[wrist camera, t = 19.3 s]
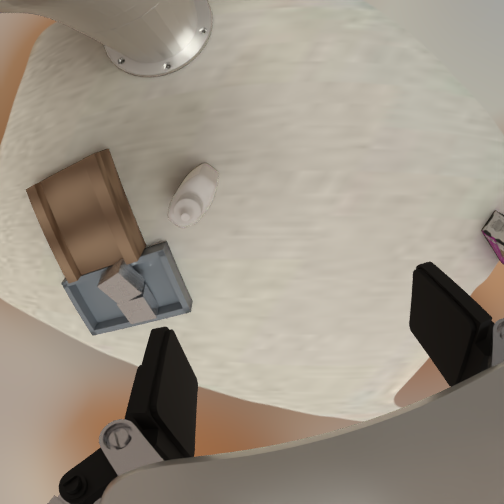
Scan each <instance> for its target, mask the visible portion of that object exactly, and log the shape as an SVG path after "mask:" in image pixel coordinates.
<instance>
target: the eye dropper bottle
mask: <svg viewBox="0 0 504 504" xmlns="http://www.w3.org/2000/svg"><path fill="white" fill-rule="evenodd" d="M218 177H219V173H218V172H217V170H215V169H214V168H213V167H211V166H210V165H209V164H207V163H203V164H201V165H199V166H198V167H196V168H195V169H193V170H192V171H191V172H190V173H189V174H188V175H187V176H186V178H185V179H184V180H183V182H182V184H181V185H180V187H179V188H178V190H177V191H176V193H175V195H174V196H173V198H172V200H171V203H170V205H169V209H168V218H169V220H170V221H171V222H173V223H174V224H175V225H177V226H179V227H181V228H185V227H188V226H190V225H192V224H195V223H196V222H197V221H198V220H199V219H200V218H201V217H202V216H203V215H204V214H205V213H206V211H207V210H208V209H209V207H210V205H211V203H212V201H213V199H214V196H215V193H216V190H217V185H218Z"/></svg>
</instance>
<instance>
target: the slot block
mask: <svg viewBox="0 0 504 504" xmlns="http://www.w3.org/2000/svg"><path fill="white" fill-rule="evenodd" d="M26 192H27V194H28V197H29V199H30V202H31V204H32V207H33V209H34V212H35V214H36V217H37V219H38V221H39V224H40V226H41V228H42V230H43V233H44V235H45V237H46V239H47V241H48V244H49V246H50V248H51V250H52V252H53V254H54V256H55V258H56V260H57V262H58V264H59V266H60V268H61V270H62V272H63V274H64V276H65V278H66V279H67V281H68V283H72V282H75V281H78V279H79V278H80V277H81V275H84V274H87V273H89V272H92V271H95V270H98V269H101V268H104V267H107V266H111V265H114V264H115V263H117V262H118V261H120V260H121V259H124V261H125V263H126V265H128V264H131V263H134V262H137V261H138V260H139V258H140V256H141V254H142V252H143V251H144V249H145V247H146V244H145V241H144V239H143V237H142V234H141V232H140V230H139V227H138V225H137V222H136V220H135V217H134V215H133V213H132V210H131V208H130V205H129V202H128V200H127V197H126V195H125V192H124V190H123V187H122V184H121V182H120V179H119V176H118V173H117V171H116V168H115V165H114V162H113V160H112V157H111V154H110V151H109V149H106V150H103V151H100V152H97V153H94V154H92V155H90V156H88V157H86V158H84V159H83V160H81V161H79V162H77V163H75V164H73V165H71V166H69V167H67V168H65V169H63V170H61V171H59V172H57V173H56V174H54V175H52V176H50V177H48V178H46V179H44V180H43V181H41V182H39V183H37V184H35V185H33V186H31V187H29V188H28V189H26Z"/></svg>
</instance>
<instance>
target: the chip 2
mask: <svg viewBox="0 0 504 504" xmlns="http://www.w3.org/2000/svg"><path fill="white" fill-rule="evenodd" d="M117 306H118V307H119V308H120V310H121V311H122V313H123V314H124V315H125V317H126V318H127V319H128V321H129V322H130V323H131V324H135V323H139V322H143V321H148V320H152V319H156V318H157V315H158V307H159V304H158V303H157V301H156V300H155V298H154V297H153V295H152V293H151V292H150V290H149V288H148V287H147V285H146V284H143V289H142V294H140V295H138V296H136V297H134V298H133V299H131V300H129V301H127V302H126V303H124V304H122V305H119V304H117Z"/></svg>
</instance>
